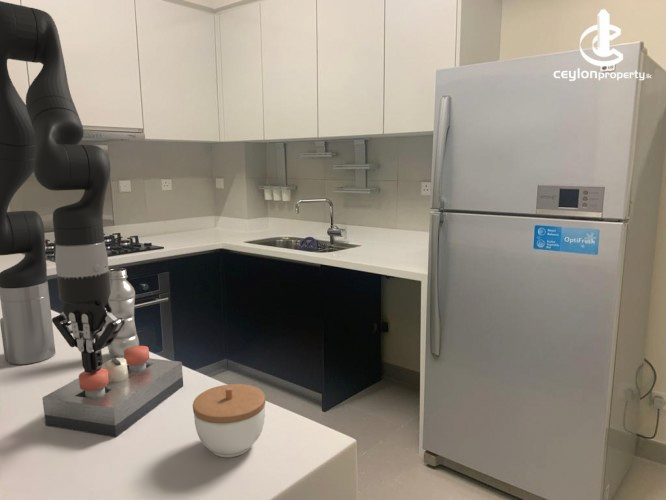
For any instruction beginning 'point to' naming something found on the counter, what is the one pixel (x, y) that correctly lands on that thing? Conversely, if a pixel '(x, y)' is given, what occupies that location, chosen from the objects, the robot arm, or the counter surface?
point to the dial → (116, 369)
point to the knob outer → (94, 383)
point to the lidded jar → (229, 418)
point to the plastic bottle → (122, 311)
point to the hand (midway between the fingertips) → (93, 371)
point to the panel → (113, 400)
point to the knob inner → (136, 357)
